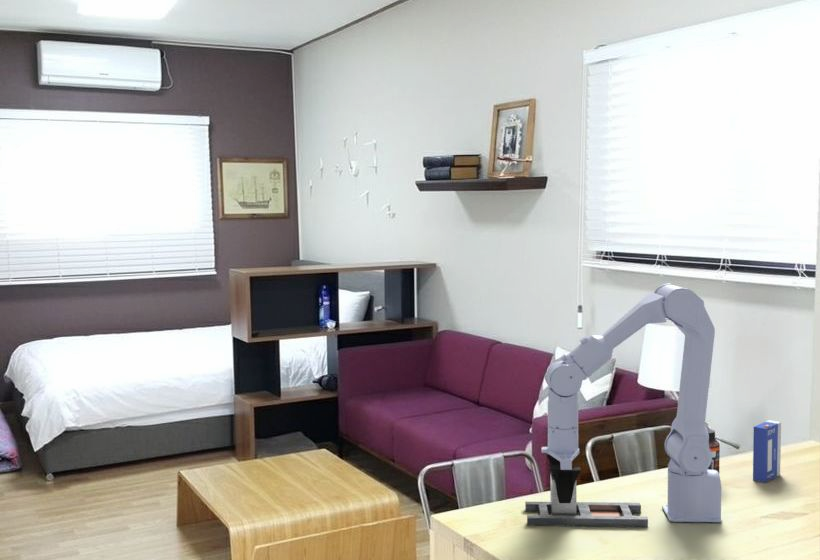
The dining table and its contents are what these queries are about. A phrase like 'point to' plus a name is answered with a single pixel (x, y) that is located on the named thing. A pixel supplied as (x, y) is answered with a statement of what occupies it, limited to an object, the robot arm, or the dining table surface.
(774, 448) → the walkman
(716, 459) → the supplement bottle
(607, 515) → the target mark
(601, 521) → the rail
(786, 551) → the dining table surface
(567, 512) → the steel peg
